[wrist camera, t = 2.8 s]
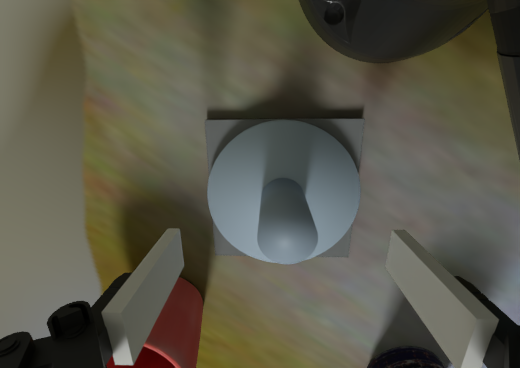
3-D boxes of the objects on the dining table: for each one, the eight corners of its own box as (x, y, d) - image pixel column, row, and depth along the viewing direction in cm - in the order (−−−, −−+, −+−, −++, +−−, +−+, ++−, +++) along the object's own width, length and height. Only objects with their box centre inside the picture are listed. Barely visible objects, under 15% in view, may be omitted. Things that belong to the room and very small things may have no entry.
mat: (206, 119, 23) (204, 120, 22) (361, 118, 23) (364, 118, 22) (216, 250, 28) (215, 255, 27) (346, 252, 27) (348, 257, 26)
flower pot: (108, 293, 30) (36, 378, 21) (171, 245, 28) (122, 318, 19) (170, 347, 33) (130, 444, 23) (234, 307, 30) (218, 398, 21)
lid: (204, 120, 22) (169, 131, 15) (364, 118, 22) (416, 130, 14) (215, 255, 27) (192, 318, 19) (348, 257, 26) (380, 323, 19)
